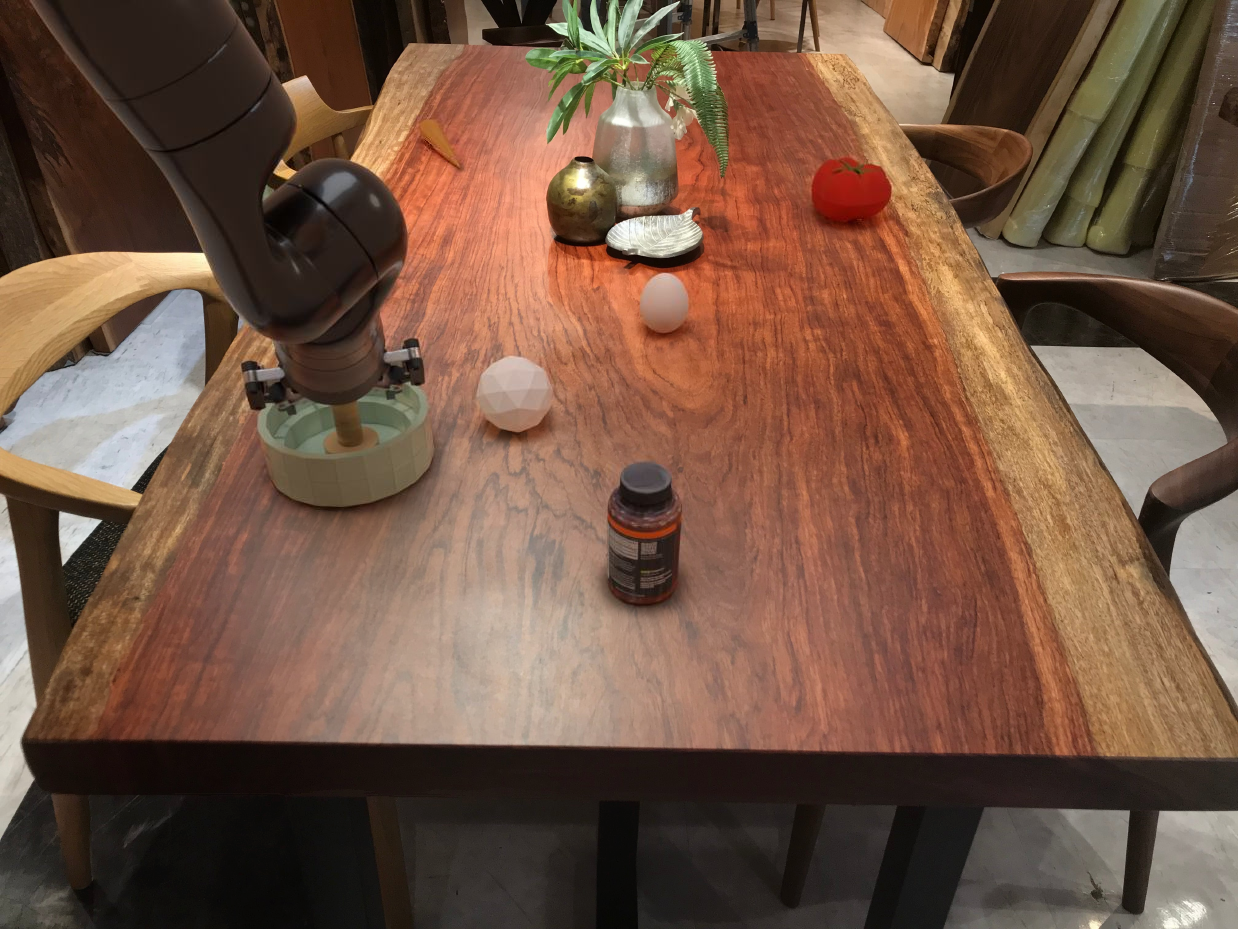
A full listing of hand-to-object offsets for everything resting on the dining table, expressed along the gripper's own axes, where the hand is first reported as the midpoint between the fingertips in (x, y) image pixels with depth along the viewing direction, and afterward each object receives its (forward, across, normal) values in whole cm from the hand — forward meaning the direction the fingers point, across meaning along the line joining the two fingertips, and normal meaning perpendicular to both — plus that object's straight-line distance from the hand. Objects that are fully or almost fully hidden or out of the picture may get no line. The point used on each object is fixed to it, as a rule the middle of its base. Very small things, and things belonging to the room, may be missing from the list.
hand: (340, 396), depth 80 cm
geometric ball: (+10, -17, +3) cm, 20 cm away
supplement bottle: (-9, -21, +22) cm, 32 cm away
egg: (+21, -40, -7) cm, 45 cm away
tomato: (+40, -83, -27) cm, 96 cm away
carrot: (+76, -26, -62) cm, 102 cm away
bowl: (+9, 0, +4) cm, 10 cm away
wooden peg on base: (+8, 0, +4) cm, 9 cm away
